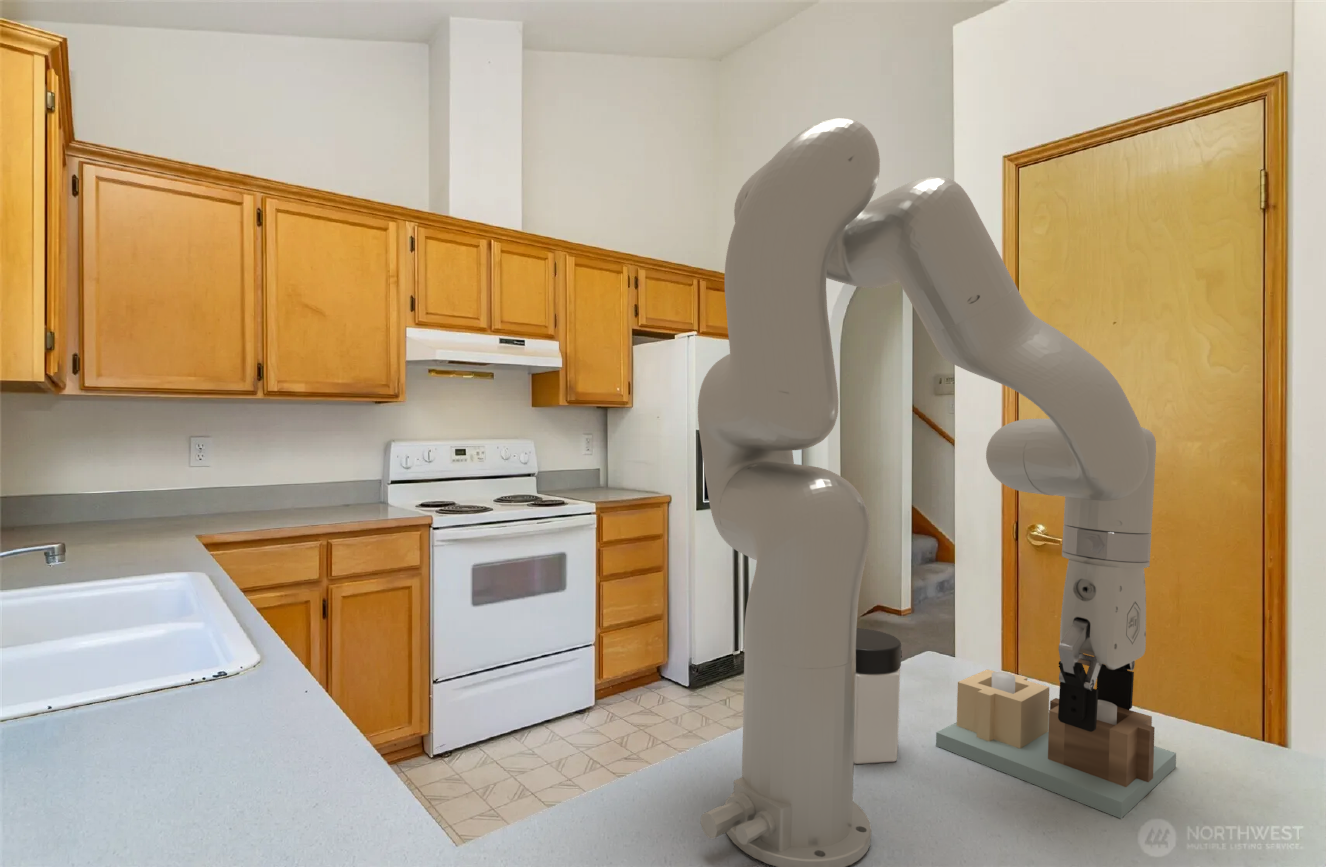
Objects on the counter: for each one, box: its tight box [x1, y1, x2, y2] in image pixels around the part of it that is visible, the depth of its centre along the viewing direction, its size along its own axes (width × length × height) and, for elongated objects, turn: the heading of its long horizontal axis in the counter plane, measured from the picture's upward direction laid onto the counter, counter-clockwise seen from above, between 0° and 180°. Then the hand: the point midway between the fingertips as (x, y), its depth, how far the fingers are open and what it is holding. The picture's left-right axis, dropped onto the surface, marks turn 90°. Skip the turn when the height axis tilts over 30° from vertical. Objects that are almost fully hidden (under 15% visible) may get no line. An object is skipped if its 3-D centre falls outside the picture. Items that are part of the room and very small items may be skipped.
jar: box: [854, 627, 903, 765], centre depth 77 cm, size 9×8×12 cm
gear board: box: [935, 669, 1177, 820], centre depth 75 cm, size 16×18×8 cm
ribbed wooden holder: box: [1048, 697, 1155, 787], centre depth 71 cm, size 7×9×5 cm
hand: (1095, 715), depth 70 cm, fingers open, 9 cm apart
